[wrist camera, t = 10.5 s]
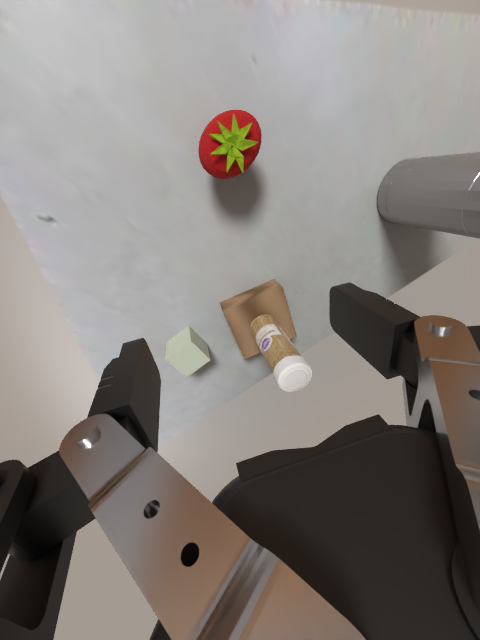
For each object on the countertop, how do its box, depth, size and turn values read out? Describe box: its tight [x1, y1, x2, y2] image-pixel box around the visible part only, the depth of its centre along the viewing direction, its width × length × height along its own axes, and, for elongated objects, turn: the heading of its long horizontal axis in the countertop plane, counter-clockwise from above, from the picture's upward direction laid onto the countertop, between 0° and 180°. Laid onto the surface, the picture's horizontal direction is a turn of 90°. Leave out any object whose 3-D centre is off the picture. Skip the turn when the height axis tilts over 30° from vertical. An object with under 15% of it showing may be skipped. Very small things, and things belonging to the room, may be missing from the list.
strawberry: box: [199, 110, 261, 179], centre depth 29 cm, size 6×8×10 cm
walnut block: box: [220, 279, 297, 359], centre depth 44 cm, size 10×10×4 cm
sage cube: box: [166, 326, 211, 377], centre depth 44 cm, size 5×5×5 cm
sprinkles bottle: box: [250, 314, 312, 392], centre depth 37 cm, size 5×5×13 cm
